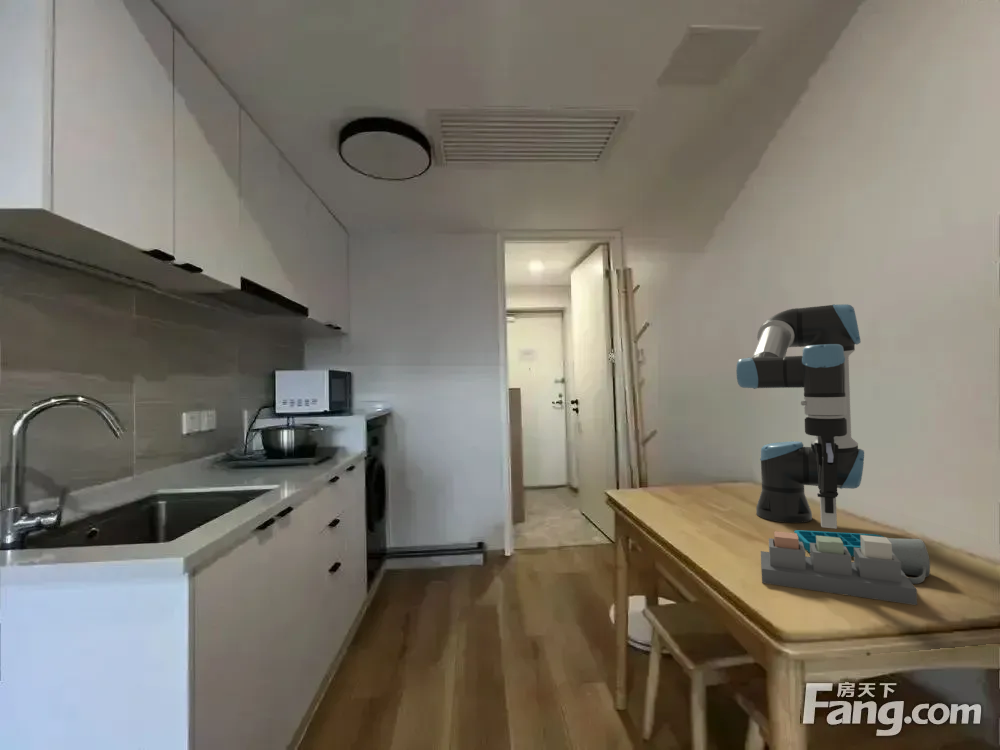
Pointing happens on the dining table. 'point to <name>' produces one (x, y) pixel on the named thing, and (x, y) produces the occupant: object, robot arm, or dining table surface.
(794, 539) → the terracotta key
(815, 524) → the dining table surface
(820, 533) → the ice cube tray
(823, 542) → the sage key
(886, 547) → the ivory key
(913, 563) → the ceramic mug
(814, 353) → the robot arm
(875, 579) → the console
